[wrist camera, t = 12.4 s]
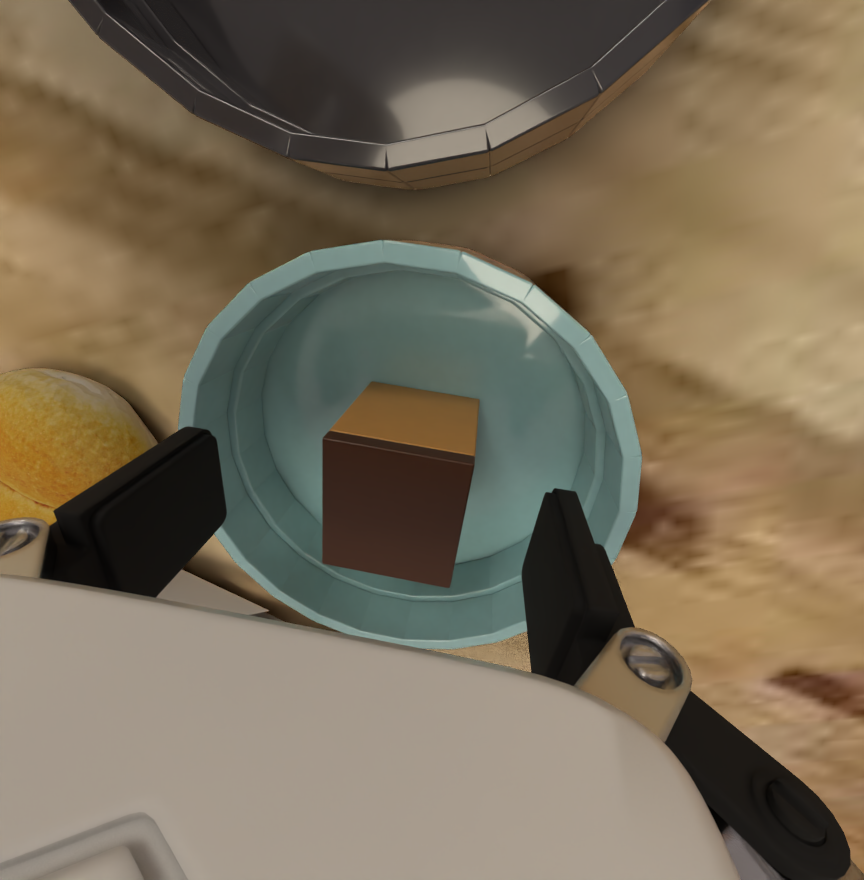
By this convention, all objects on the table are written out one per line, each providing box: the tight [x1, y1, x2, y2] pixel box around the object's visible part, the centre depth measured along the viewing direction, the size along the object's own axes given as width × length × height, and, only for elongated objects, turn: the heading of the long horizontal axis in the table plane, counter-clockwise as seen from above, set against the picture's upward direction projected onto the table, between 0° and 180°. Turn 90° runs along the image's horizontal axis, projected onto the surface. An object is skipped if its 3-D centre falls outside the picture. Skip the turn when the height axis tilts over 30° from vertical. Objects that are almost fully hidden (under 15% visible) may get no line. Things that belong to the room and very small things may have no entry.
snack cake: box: [322, 382, 480, 588], centre depth 13 cm, size 4×4×5 cm
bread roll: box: [0, 368, 158, 526], centre depth 17 cm, size 8×9×4 cm
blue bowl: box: [178, 240, 642, 650], centre depth 14 cm, size 14×14×4 cm
